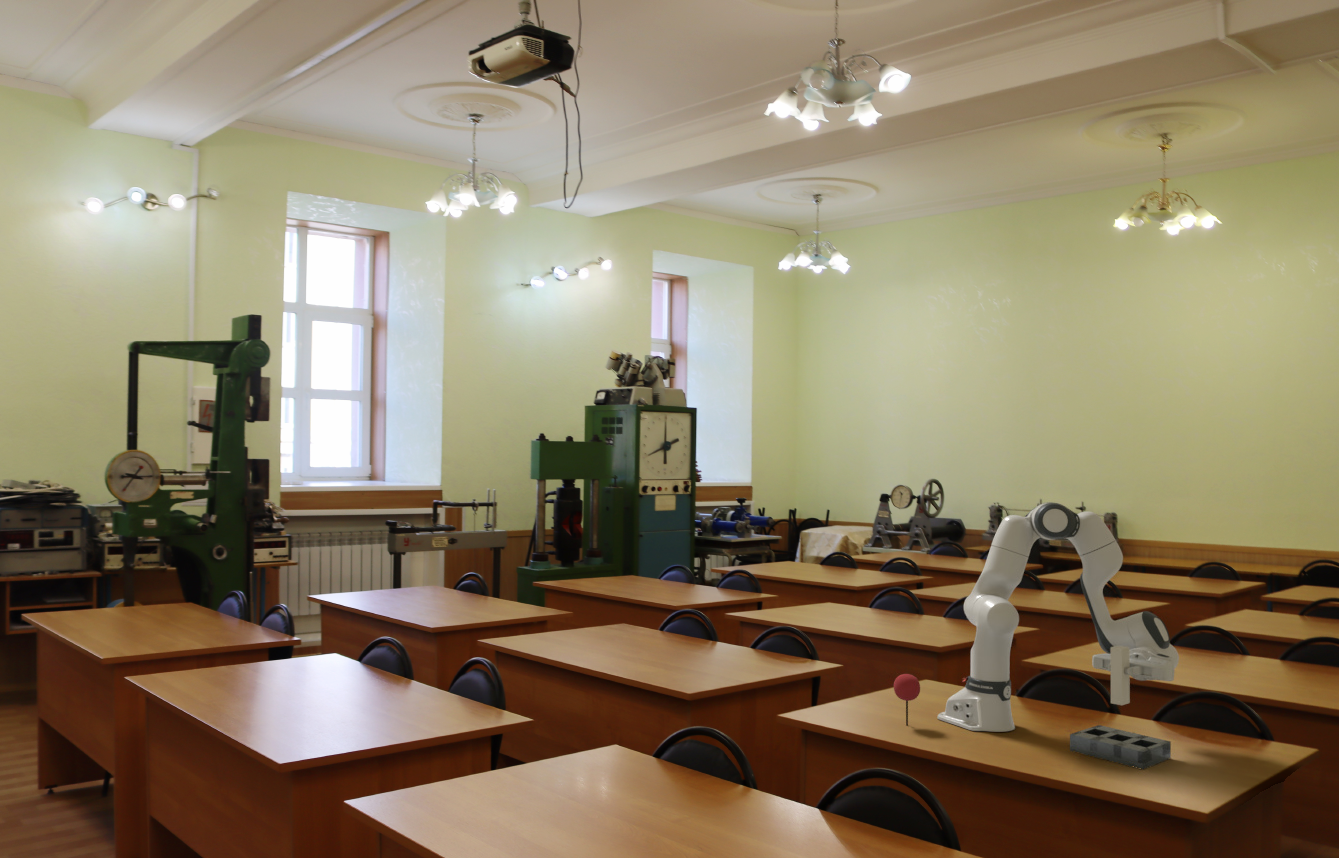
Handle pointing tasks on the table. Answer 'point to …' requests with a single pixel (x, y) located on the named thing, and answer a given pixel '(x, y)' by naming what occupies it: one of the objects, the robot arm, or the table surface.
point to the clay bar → (1120, 675)
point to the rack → (1120, 746)
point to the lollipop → (907, 689)
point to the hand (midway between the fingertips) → (1118, 669)
